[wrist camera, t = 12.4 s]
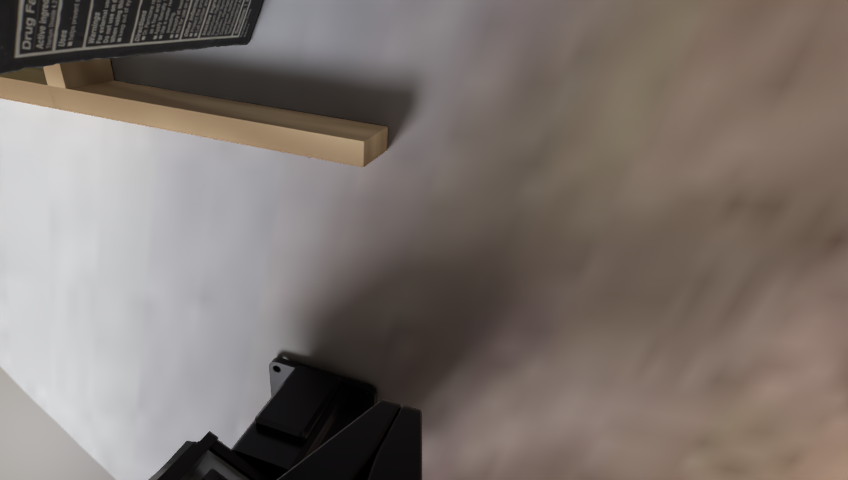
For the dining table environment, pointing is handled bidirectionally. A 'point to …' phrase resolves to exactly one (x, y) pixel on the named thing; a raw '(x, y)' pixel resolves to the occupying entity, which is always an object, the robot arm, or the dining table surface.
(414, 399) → the dining table surface
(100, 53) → the small box
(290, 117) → the light tan flat part
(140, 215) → the dining table surface
